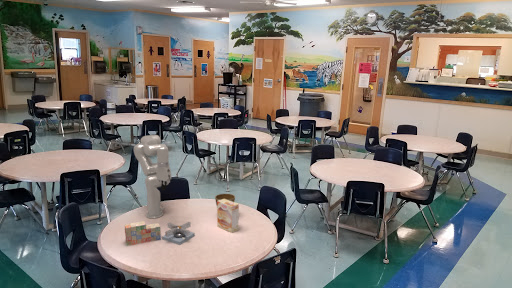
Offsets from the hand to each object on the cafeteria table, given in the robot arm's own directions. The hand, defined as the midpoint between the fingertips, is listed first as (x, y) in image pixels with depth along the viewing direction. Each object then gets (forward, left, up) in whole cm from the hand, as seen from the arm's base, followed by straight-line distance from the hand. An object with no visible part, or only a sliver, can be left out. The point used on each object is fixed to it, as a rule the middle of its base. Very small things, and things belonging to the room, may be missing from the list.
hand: (163, 189), depth 256 cm
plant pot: (-36, +27, -27) cm, 53 cm away
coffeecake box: (-20, +40, -27) cm, 52 cm away
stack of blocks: (+24, +3, -28) cm, 37 cm away
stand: (+9, +20, -27) cm, 35 cm away
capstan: (+9, +20, -25) cm, 33 cm away
